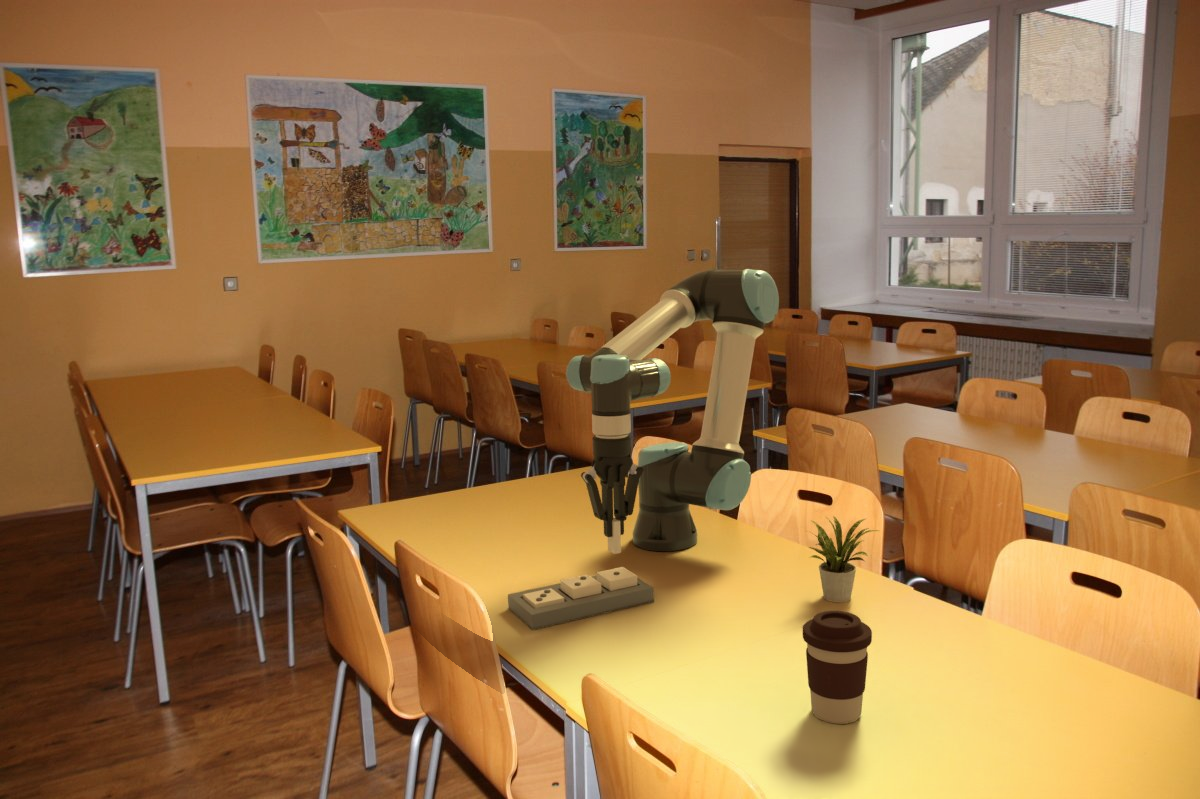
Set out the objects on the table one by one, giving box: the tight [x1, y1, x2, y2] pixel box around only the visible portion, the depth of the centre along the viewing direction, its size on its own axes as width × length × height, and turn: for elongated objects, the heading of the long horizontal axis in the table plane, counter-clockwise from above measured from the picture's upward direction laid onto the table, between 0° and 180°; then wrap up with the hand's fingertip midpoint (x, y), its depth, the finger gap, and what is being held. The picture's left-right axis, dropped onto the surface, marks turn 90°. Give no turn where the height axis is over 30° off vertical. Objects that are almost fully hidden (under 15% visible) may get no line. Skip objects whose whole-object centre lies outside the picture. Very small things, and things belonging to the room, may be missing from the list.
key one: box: [595, 566, 638, 591], centre depth 194 cm, size 6×6×2 cm
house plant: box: [806, 515, 879, 603], centre depth 189 cm, size 14×14×16 cm
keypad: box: [507, 575, 655, 631], centre depth 191 cm, size 26×12×3 cm, turn 117°
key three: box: [523, 588, 564, 609], centre depth 187 cm, size 6×6×2 cm
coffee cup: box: [802, 610, 873, 725], centre depth 145 cm, size 10×10×15 cm
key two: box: [559, 574, 601, 599], centre depth 191 cm, size 6×6×2 cm
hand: (614, 551), depth 193 cm, fingers closed
